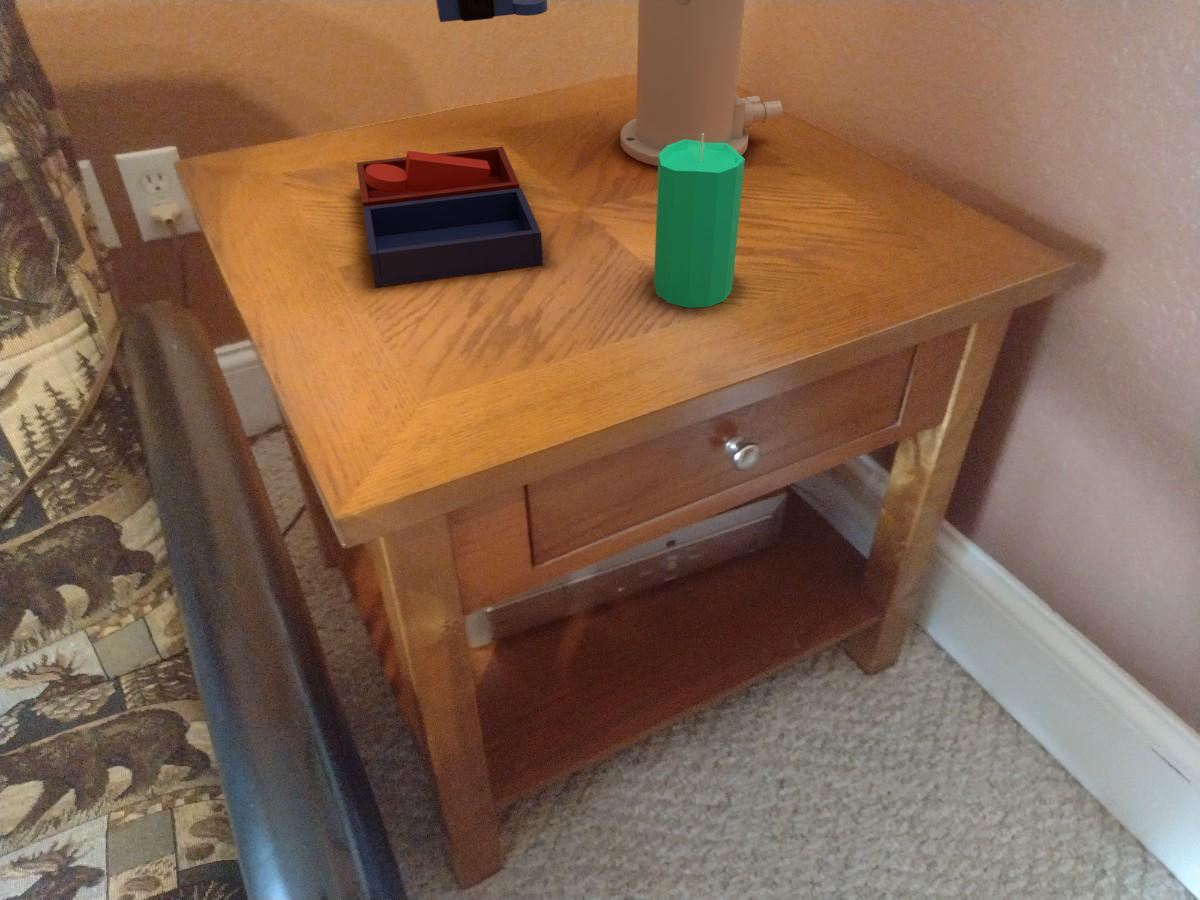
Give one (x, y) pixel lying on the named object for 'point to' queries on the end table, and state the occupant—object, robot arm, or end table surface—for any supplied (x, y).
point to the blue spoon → (505, 3)
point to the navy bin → (451, 237)
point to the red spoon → (428, 173)
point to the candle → (697, 222)
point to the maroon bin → (498, 180)
